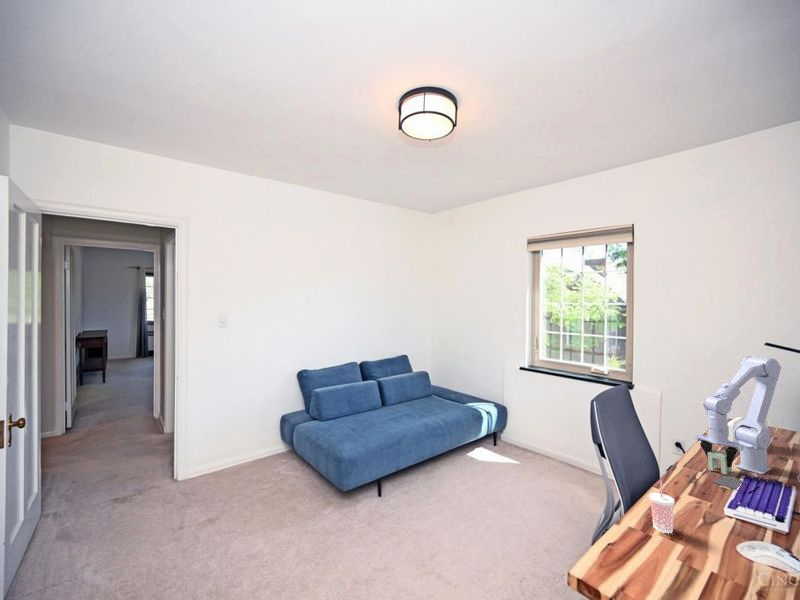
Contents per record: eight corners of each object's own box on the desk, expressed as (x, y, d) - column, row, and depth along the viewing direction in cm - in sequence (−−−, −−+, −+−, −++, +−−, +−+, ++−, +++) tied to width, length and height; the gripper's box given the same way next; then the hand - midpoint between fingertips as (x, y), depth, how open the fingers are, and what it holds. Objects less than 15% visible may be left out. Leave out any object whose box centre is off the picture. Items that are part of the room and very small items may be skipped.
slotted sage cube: (714, 466, 151) (713, 449, 151) (731, 470, 146) (730, 453, 146) (708, 469, 148) (707, 452, 148) (725, 474, 143) (725, 457, 143)
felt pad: (724, 476, 143) (724, 475, 143) (759, 486, 134) (759, 485, 134) (712, 482, 138) (712, 481, 138) (748, 493, 129) (748, 492, 129)
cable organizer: (758, 453, 164) (757, 426, 165) (727, 446, 173) (726, 420, 174) (769, 446, 172) (768, 420, 173) (739, 440, 181) (738, 415, 182)
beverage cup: (667, 537, 105) (665, 486, 106) (645, 526, 111) (643, 478, 111) (680, 532, 108) (678, 482, 108) (658, 521, 113) (657, 474, 114)
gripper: (691, 425, 151) (692, 460, 151) (737, 435, 139) (739, 472, 139) (699, 422, 155) (700, 456, 155) (745, 431, 143) (746, 468, 142)
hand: (719, 463), depth 147 cm, fingers closed on slotted sage cube, 5 cm apart
